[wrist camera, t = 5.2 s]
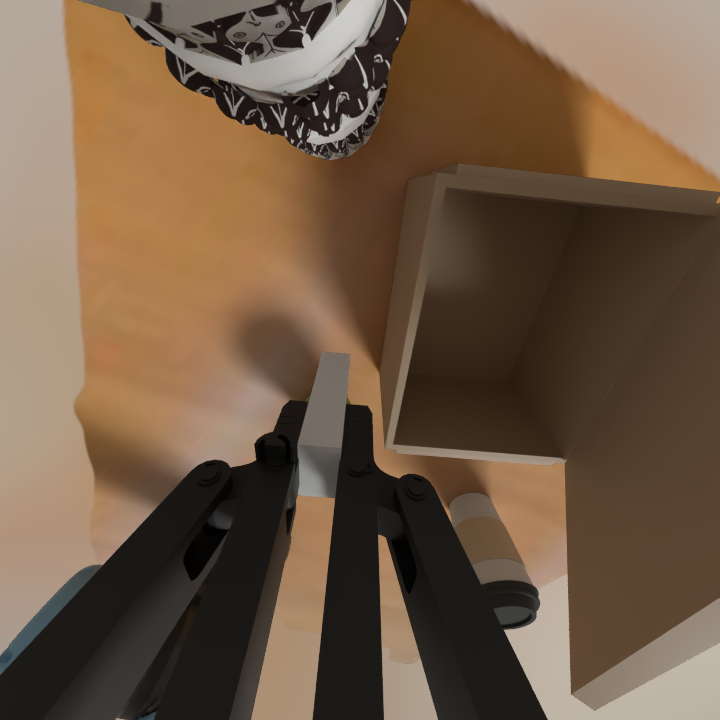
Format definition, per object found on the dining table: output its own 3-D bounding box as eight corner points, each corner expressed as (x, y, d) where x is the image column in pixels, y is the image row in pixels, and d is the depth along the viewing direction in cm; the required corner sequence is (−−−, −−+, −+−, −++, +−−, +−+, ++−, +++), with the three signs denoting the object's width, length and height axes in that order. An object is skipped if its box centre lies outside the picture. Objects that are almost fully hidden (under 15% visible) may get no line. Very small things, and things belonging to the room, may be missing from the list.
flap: (571, 694, 13) (594, 710, 13) (1321, 206, 3) (1509, 215, 3) (564, 462, 25) (576, 467, 25) (727, 208, 16) (751, 210, 15)
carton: (378, 376, 36) (384, 453, 25) (409, 172, 25) (439, 161, 15) (508, 387, 36) (564, 467, 26) (590, 192, 26) (742, 194, 15)
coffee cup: (472, 480, 45) (515, 598, 32) (511, 502, 48) (565, 620, 35) (430, 508, 49) (454, 625, 36) (469, 528, 51) (504, 643, 38)
